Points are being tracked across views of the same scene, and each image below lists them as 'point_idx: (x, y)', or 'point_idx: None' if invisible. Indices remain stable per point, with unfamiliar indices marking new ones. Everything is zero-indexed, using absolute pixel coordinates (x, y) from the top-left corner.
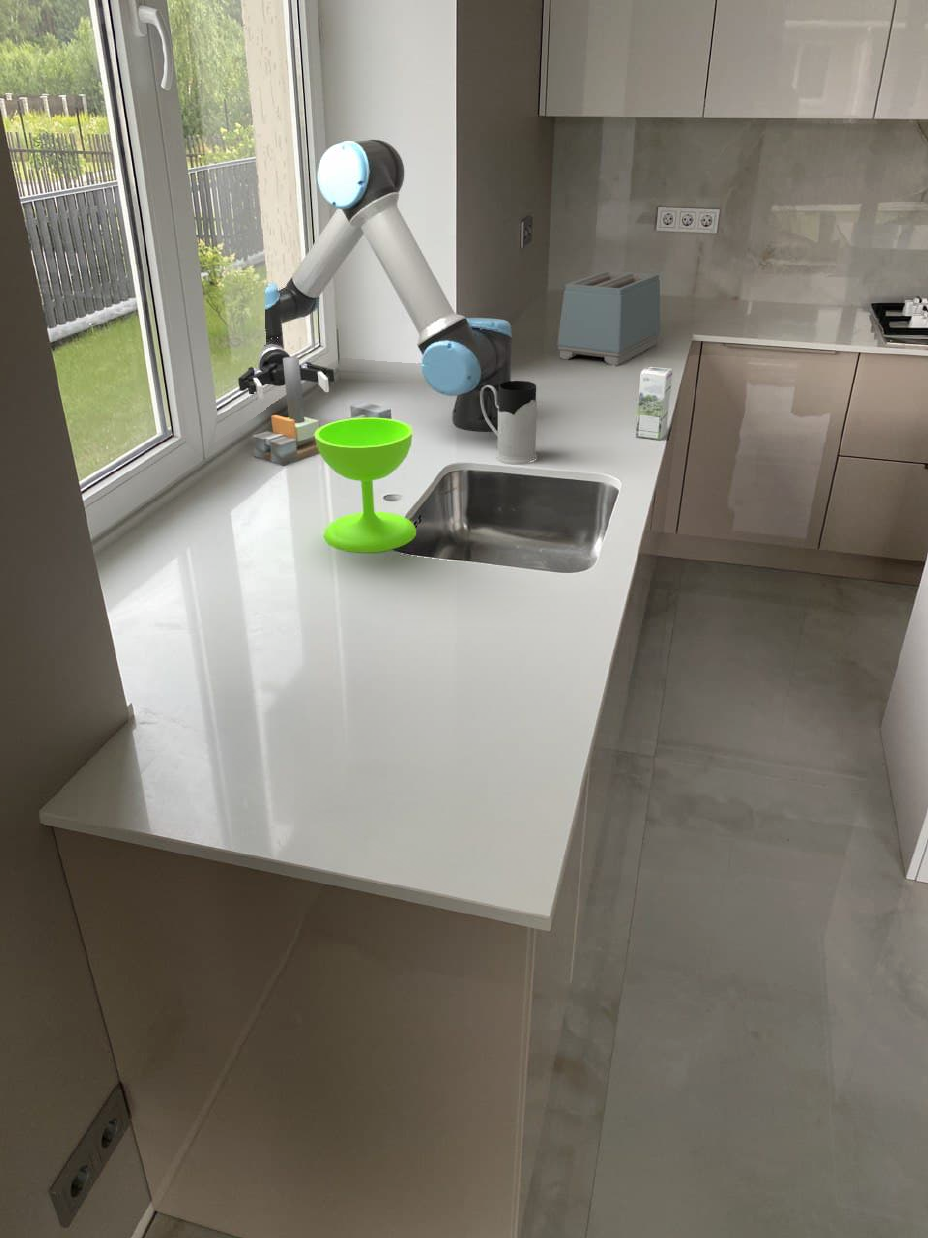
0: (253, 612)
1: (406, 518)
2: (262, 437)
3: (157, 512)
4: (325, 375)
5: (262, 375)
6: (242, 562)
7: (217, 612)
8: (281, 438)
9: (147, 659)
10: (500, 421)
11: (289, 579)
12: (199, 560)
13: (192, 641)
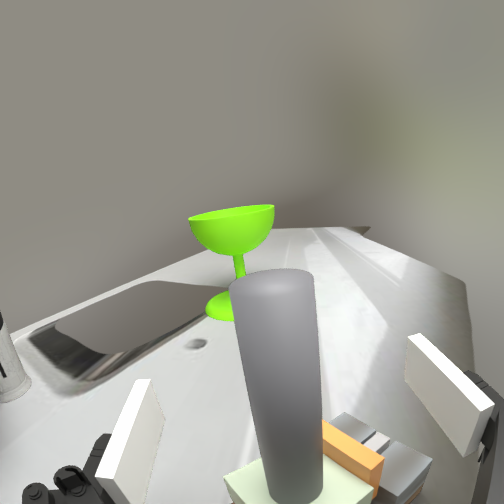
0: (331, 259)
1: (208, 307)
2: (401, 451)
3: (467, 317)
4: (94, 468)
5: (485, 497)
6: (349, 279)
7: (350, 257)
8: None
9: (371, 244)
10: (6, 341)
11: (313, 272)
12: (382, 278)
13: (356, 249)
